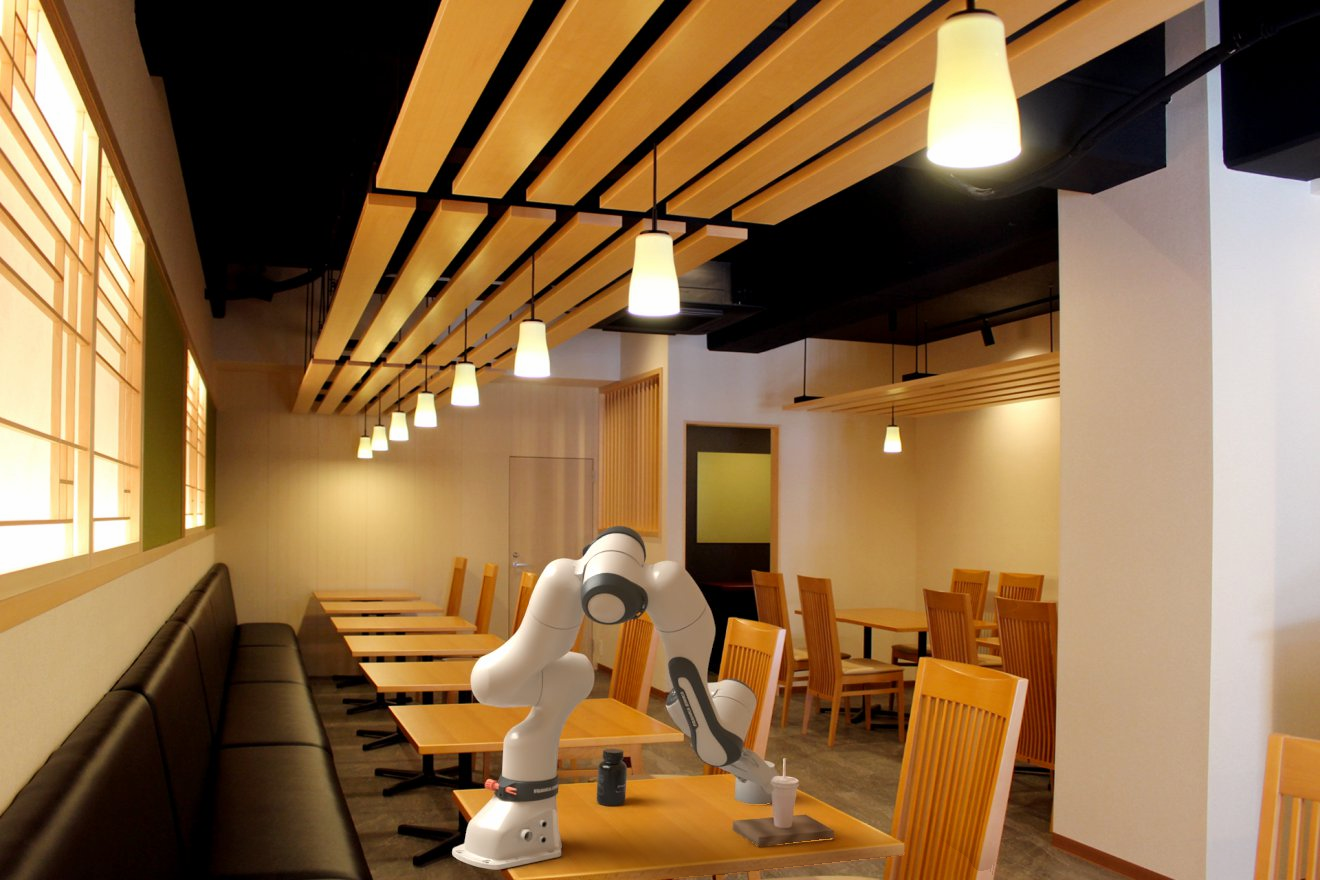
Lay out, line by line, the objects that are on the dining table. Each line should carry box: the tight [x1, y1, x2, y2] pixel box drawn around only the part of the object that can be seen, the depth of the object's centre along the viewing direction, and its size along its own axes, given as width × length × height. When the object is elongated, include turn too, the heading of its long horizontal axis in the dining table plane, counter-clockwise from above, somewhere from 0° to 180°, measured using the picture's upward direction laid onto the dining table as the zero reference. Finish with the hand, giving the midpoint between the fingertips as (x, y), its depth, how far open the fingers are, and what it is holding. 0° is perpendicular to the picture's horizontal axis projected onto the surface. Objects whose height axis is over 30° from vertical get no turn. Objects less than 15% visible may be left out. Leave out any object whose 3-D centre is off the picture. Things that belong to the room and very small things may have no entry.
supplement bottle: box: [596, 748, 628, 807], centre depth 247 cm, size 7×7×12 cm
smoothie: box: [770, 757, 800, 828], centre depth 227 cm, size 6×6×14 cm
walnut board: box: [732, 814, 835, 848], centre depth 227 cm, size 18×12×2 cm, turn 112°
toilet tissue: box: [734, 759, 781, 804], centre depth 255 cm, size 9×13×9 cm
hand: (757, 785), depth 225 cm, fingers open, 8 cm apart
